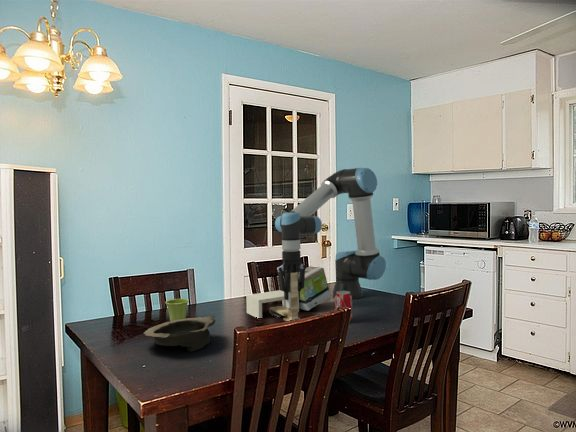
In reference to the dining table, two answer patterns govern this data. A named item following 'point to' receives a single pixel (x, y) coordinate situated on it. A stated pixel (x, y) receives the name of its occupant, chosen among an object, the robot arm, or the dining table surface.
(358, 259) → the robot arm
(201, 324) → the stone bowl
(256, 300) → the cream u-shaped bracket
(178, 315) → the plant pot
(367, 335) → the dining table surface
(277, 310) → the beech scraper
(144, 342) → the dining table surface
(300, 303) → the tea box
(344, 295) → the soda can
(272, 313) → the steel block
